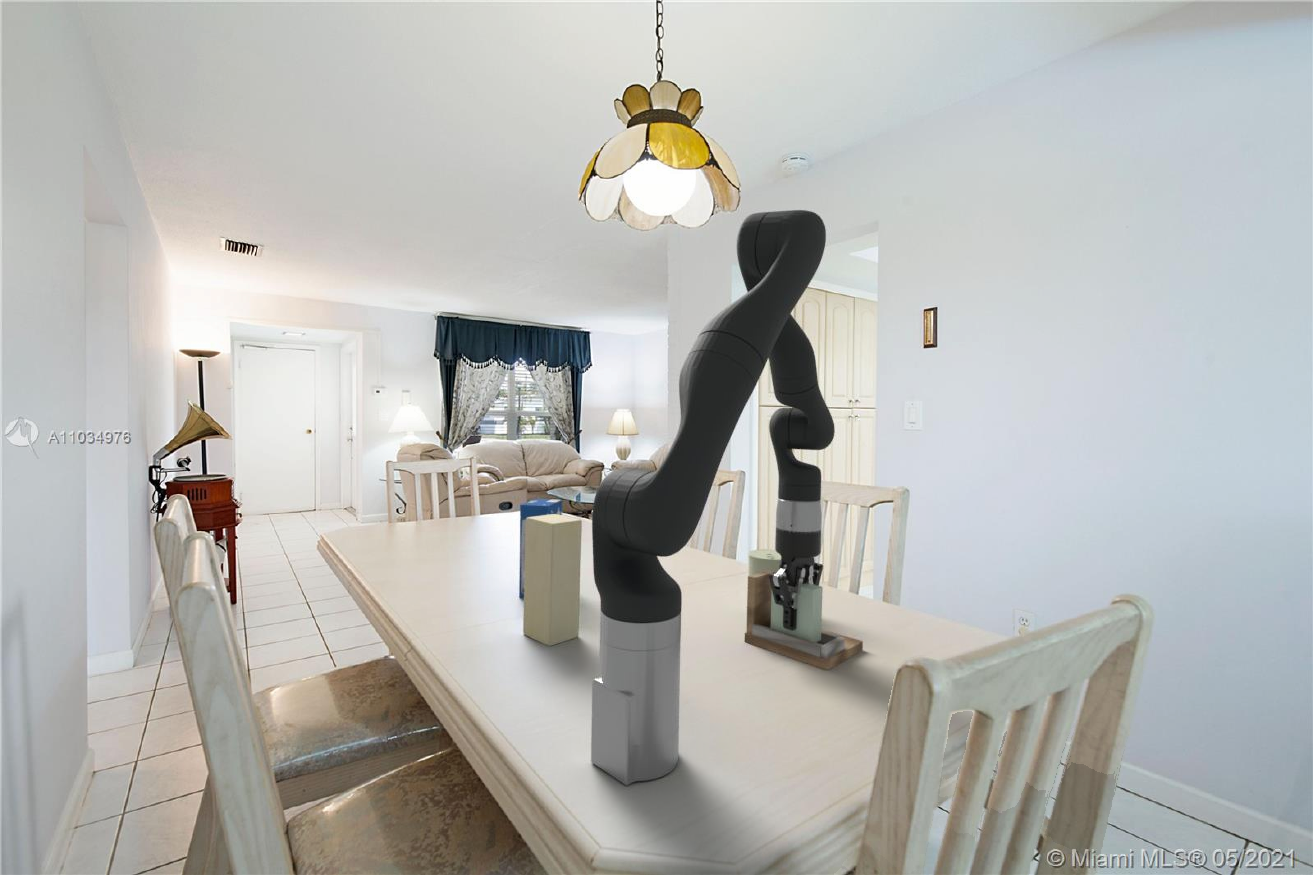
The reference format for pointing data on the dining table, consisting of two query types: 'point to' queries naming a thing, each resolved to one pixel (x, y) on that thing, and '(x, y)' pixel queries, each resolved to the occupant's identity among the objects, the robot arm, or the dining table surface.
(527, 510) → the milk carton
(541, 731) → the dining table surface
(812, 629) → the door panel
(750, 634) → the track base
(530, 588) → the tall beige block
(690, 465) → the robot arm
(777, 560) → the can
